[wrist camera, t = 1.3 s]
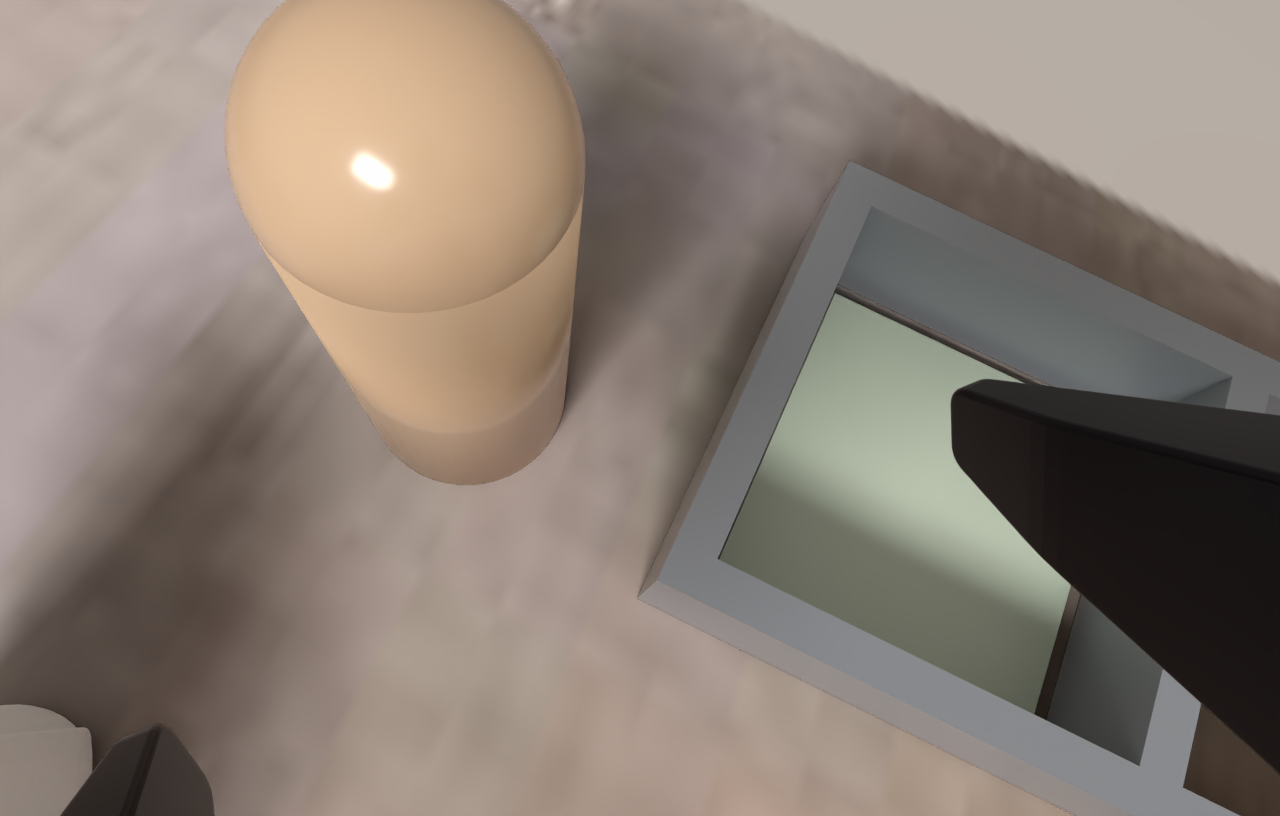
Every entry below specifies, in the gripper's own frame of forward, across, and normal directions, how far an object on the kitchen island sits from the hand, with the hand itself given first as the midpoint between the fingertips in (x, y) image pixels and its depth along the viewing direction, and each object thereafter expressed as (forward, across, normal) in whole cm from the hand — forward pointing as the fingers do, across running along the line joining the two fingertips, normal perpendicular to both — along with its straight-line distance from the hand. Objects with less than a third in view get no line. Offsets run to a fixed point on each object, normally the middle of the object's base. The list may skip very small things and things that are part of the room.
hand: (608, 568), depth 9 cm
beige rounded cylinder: (+14, 0, +4) cm, 15 cm away
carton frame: (+6, -14, +12) cm, 20 cm away
